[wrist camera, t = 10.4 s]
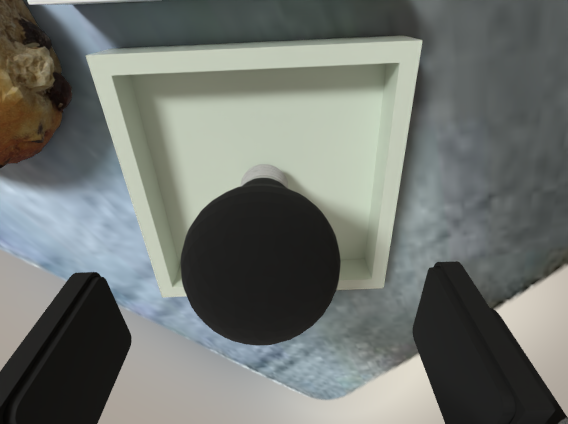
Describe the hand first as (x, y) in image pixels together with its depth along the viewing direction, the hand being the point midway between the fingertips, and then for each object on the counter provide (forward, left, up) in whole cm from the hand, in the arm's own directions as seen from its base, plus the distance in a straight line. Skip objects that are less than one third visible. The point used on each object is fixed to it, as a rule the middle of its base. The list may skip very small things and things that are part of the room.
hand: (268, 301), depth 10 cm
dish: (0, +1, -10) cm, 10 cm away
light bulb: (0, +1, -10) cm, 10 cm away
